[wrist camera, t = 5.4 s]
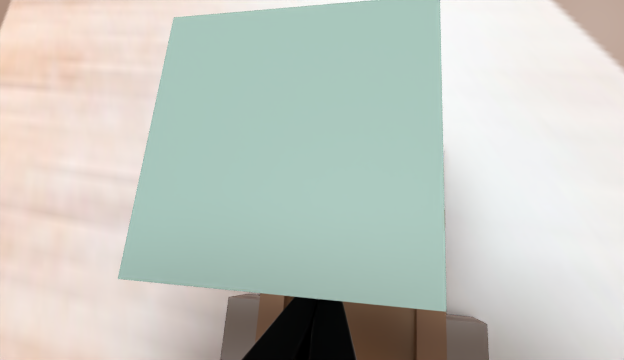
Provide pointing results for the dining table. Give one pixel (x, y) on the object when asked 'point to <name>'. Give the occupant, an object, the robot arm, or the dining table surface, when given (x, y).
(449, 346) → the wooden tray
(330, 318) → the robot arm
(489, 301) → the dining table surface
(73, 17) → the dining table surface
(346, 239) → the grey-green tall block
